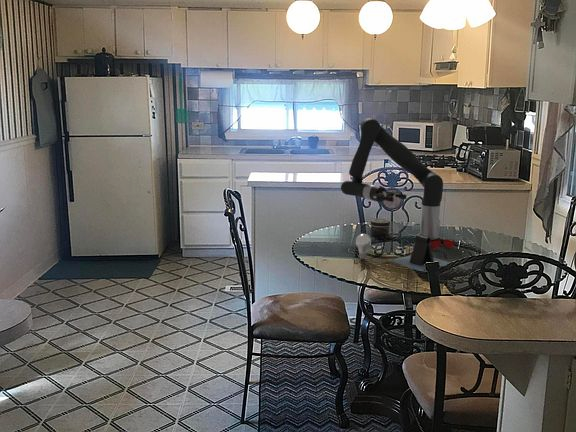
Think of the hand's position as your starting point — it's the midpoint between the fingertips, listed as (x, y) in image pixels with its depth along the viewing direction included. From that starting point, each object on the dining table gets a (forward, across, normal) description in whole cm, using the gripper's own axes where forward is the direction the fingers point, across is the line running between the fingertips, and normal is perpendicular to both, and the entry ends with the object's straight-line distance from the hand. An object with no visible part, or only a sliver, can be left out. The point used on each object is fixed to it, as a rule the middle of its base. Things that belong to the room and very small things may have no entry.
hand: (399, 198), depth 276 cm
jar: (-26, +15, +26) cm, 40 cm away
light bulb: (0, -22, +25) cm, 34 cm away
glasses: (+16, +19, +27) cm, 36 cm away
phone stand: (+19, -5, +25) cm, 32 cm away
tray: (+19, -5, +26) cm, 32 cm away
